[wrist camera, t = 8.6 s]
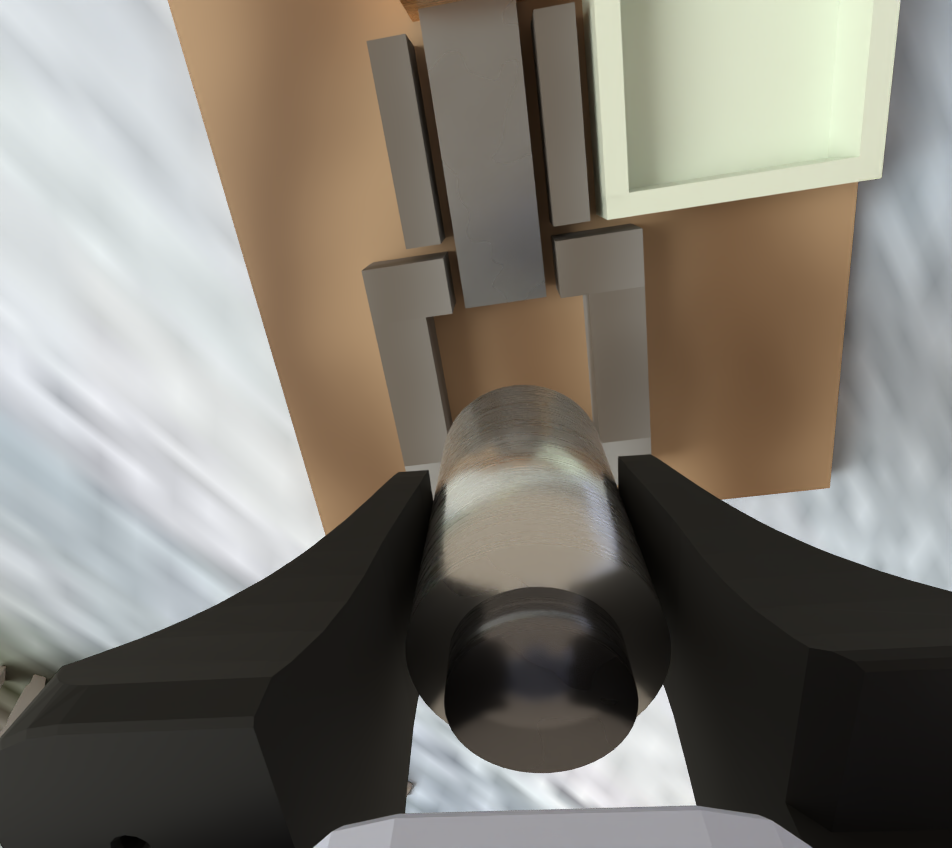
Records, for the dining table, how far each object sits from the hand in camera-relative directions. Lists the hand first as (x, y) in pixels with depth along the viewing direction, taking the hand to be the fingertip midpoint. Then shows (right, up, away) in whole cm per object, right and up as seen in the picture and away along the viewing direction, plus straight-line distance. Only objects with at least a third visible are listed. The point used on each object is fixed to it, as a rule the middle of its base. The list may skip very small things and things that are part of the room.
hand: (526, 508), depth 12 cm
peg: (0, +1, +2) cm, 2 cm away
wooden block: (-1, +10, +5) cm, 12 cm away
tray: (+6, +12, +6) cm, 14 cm away
